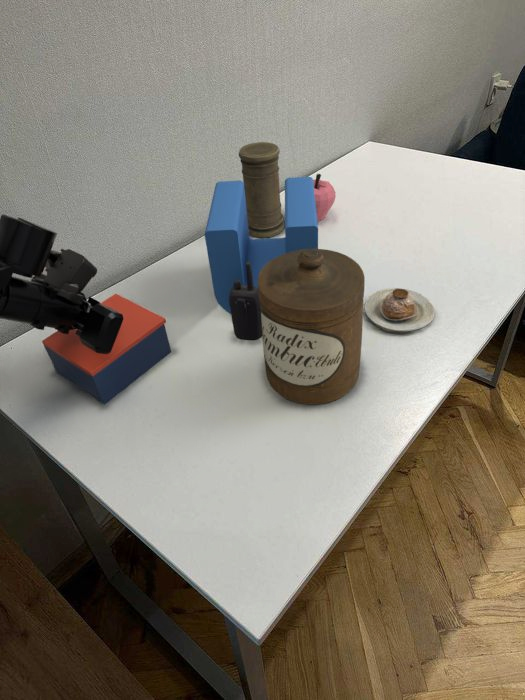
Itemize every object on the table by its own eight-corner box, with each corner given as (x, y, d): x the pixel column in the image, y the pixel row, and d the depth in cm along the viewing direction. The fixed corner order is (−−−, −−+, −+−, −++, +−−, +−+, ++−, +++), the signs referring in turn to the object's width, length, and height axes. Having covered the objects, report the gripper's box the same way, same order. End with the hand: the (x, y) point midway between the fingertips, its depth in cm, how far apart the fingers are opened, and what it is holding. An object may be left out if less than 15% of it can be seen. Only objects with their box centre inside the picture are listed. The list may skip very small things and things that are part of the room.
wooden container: (248, 385, 79) (233, 267, 65) (293, 330, 88) (289, 215, 74) (334, 419, 73) (340, 297, 58) (373, 356, 82) (386, 236, 67)
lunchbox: (123, 325, 93) (114, 298, 88) (171, 352, 86) (164, 323, 82) (56, 372, 85) (43, 344, 80) (104, 405, 78) (92, 377, 74)
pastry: (359, 295, 94) (360, 275, 91) (423, 291, 94) (427, 270, 91) (370, 337, 86) (372, 316, 83) (442, 332, 85) (446, 311, 82)
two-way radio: (266, 330, 89) (260, 257, 79) (261, 347, 86) (254, 273, 76) (236, 328, 90) (226, 255, 80) (229, 344, 87) (218, 271, 77)
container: (269, 242, 111) (263, 161, 99) (237, 231, 115) (228, 152, 103) (292, 224, 116) (289, 145, 104) (261, 215, 120) (255, 138, 108)
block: (218, 319, 92) (203, 231, 80) (226, 264, 105) (215, 181, 93) (317, 315, 91) (318, 225, 79) (313, 260, 104) (313, 176, 92)
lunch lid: (116, 296, 89) (115, 293, 88) (166, 322, 82) (165, 318, 82) (43, 344, 80) (41, 341, 80) (92, 376, 74) (90, 373, 74)
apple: (292, 212, 120) (290, 171, 113) (327, 206, 121) (328, 165, 114) (302, 231, 113) (301, 189, 106) (339, 225, 114) (341, 183, 107)
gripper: (91, 267, 63) (171, 293, 76) (10, 228, 72) (95, 257, 86) (60, 349, 64) (145, 360, 78) (-16, 300, 73) (72, 318, 87)
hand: (113, 320), depth 82 cm, fingers closed, pressing on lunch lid
